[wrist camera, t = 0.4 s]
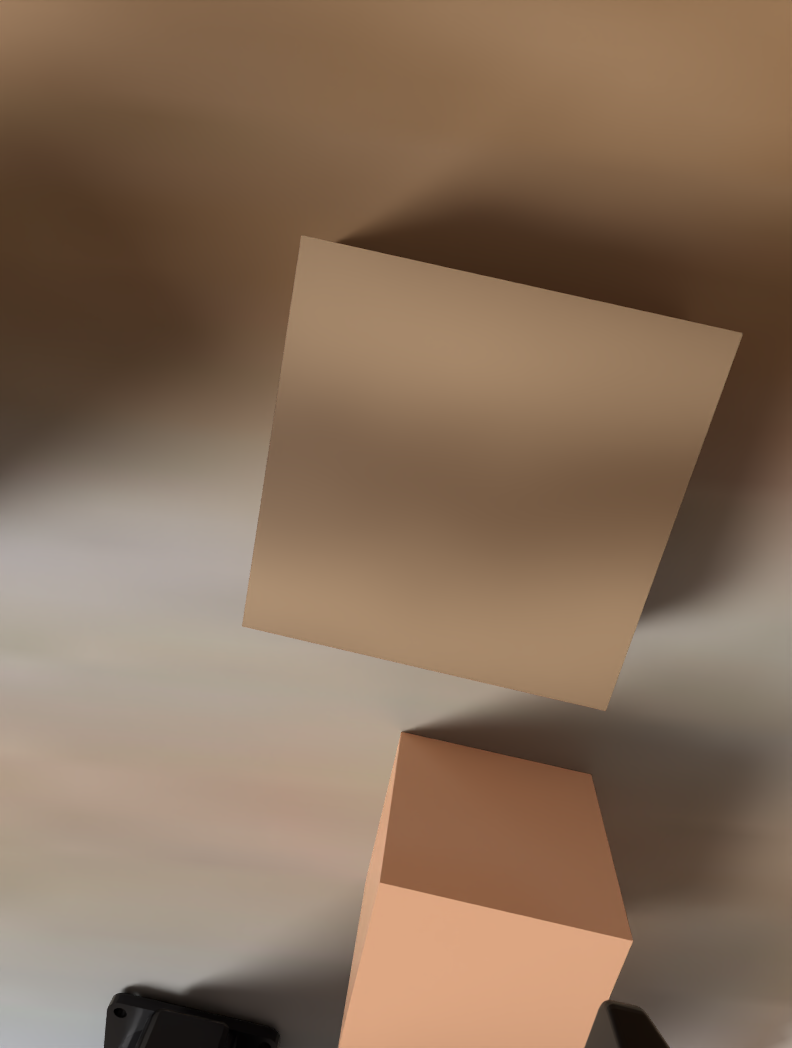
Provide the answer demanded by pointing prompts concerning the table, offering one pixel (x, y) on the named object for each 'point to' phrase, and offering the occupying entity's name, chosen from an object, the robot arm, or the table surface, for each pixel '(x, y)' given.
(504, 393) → the block
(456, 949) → the cube
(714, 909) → the table surface
